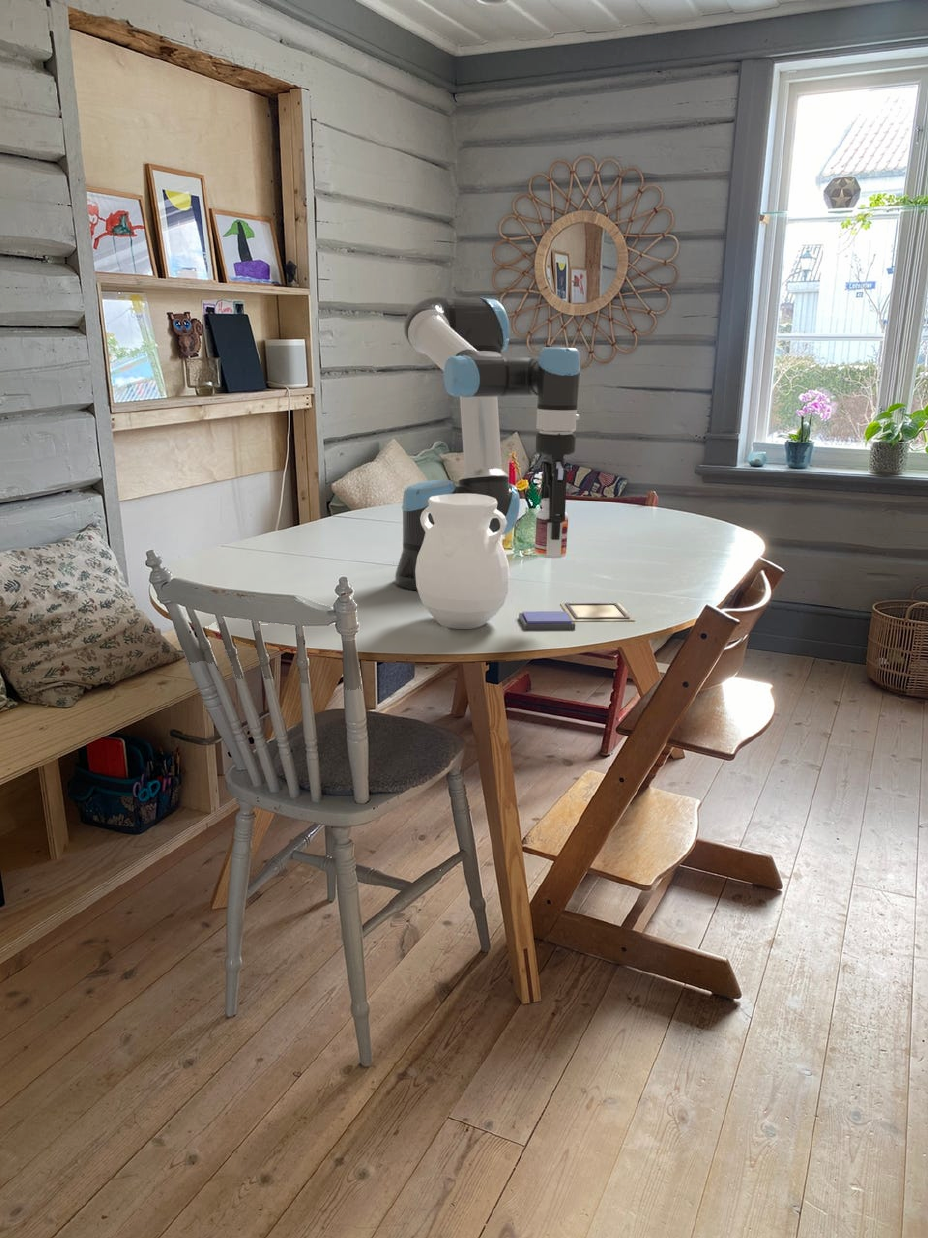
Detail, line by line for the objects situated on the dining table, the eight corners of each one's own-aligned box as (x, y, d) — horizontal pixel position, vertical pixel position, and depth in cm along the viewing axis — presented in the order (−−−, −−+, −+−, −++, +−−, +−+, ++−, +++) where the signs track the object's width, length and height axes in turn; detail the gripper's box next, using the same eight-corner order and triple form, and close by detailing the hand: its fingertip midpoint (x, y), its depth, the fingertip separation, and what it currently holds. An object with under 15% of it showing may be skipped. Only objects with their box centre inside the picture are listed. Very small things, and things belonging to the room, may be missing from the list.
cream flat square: (572, 621, 192) (572, 619, 192) (560, 604, 204) (560, 602, 204) (634, 621, 193) (635, 618, 193) (619, 603, 206) (619, 601, 205)
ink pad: (524, 629, 186) (525, 622, 185) (518, 618, 193) (519, 610, 193) (575, 629, 187) (575, 621, 186) (567, 618, 194) (567, 610, 194)
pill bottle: (561, 560, 182) (564, 503, 179) (530, 557, 185) (532, 500, 181) (569, 554, 188) (572, 498, 185) (540, 550, 190) (542, 496, 187)
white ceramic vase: (399, 629, 184) (399, 501, 177) (435, 606, 201) (437, 488, 194) (490, 641, 178) (494, 509, 171) (520, 616, 195) (524, 495, 187)
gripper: (586, 437, 171) (579, 562, 177) (566, 427, 189) (560, 541, 195) (544, 437, 170) (539, 562, 177) (528, 427, 188) (524, 541, 195)
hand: (550, 551), depth 186 cm, fingers closed on pill bottle, 6 cm apart
